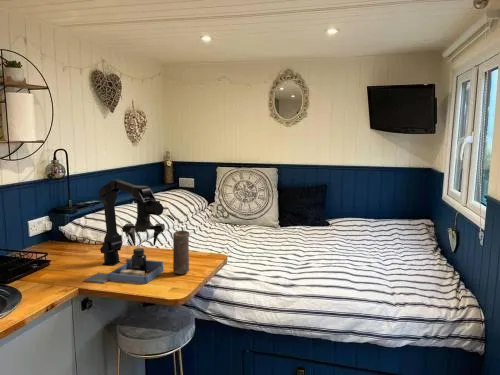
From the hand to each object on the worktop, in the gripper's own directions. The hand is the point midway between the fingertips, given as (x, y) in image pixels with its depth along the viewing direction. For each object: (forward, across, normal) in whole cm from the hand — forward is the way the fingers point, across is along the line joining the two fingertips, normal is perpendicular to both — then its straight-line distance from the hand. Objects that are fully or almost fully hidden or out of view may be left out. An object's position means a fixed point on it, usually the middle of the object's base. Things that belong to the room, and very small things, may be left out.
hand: (144, 245), depth 180 cm
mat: (+13, -18, -8) cm, 24 cm away
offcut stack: (+13, -4, -9) cm, 17 cm away
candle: (+13, +18, -3) cm, 22 cm away
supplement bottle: (+13, -2, -2) cm, 14 cm away
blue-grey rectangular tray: (+13, -3, -4) cm, 14 cm away
